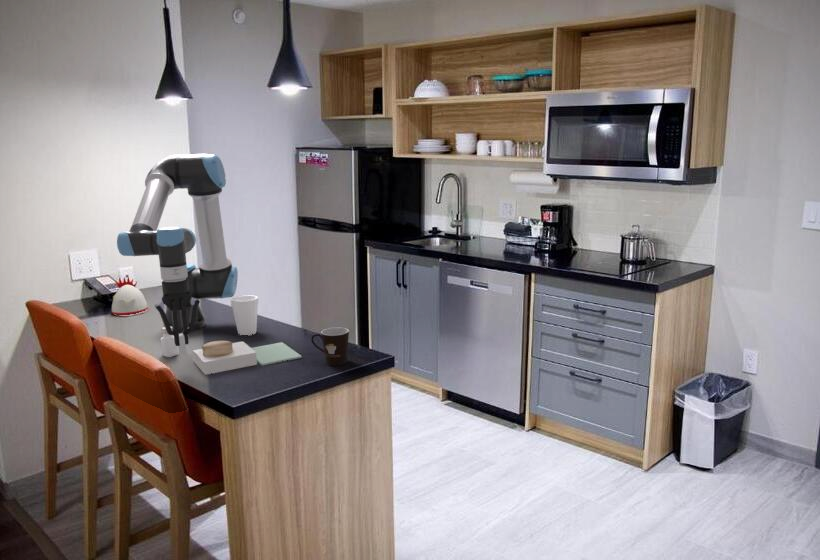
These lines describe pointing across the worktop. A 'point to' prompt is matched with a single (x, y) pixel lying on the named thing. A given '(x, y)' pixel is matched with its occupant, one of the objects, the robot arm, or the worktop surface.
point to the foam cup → (245, 313)
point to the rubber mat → (274, 353)
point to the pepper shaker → (168, 344)
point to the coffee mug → (334, 345)
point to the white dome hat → (128, 299)
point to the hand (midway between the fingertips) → (182, 355)
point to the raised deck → (226, 359)
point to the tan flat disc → (217, 348)
